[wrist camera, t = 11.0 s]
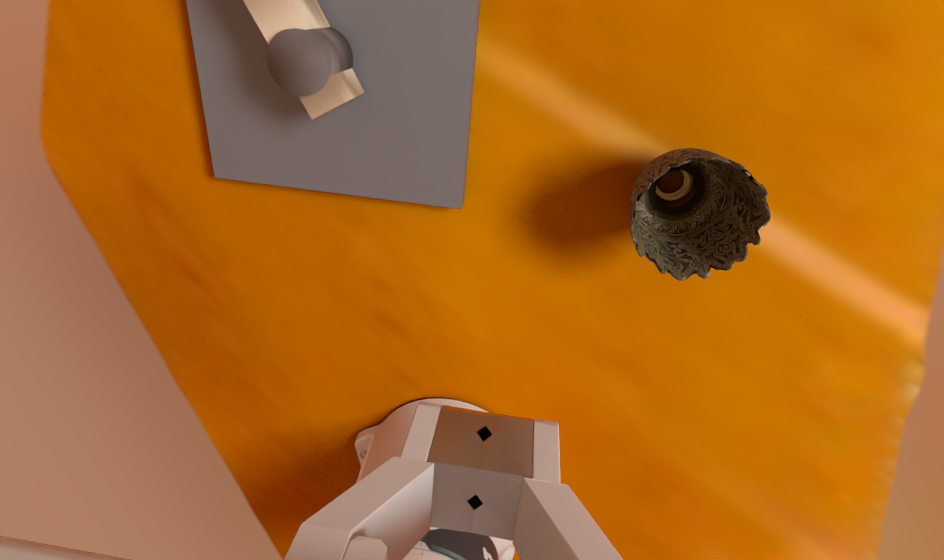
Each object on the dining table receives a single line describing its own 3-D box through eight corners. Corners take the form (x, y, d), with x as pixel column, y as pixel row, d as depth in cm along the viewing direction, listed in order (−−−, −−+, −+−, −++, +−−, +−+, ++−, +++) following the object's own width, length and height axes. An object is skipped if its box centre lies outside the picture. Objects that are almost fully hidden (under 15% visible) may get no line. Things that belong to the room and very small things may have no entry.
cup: (594, 181, 37) (604, 223, 30) (679, 103, 34) (713, 129, 27) (662, 248, 39) (686, 302, 32) (749, 180, 36) (798, 223, 29)
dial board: (463, 202, 39) (460, 210, 38) (221, 171, 41) (209, 177, 39) (497, -222, 28) (495, -235, 26) (157, -245, 29) (136, -257, 28)
